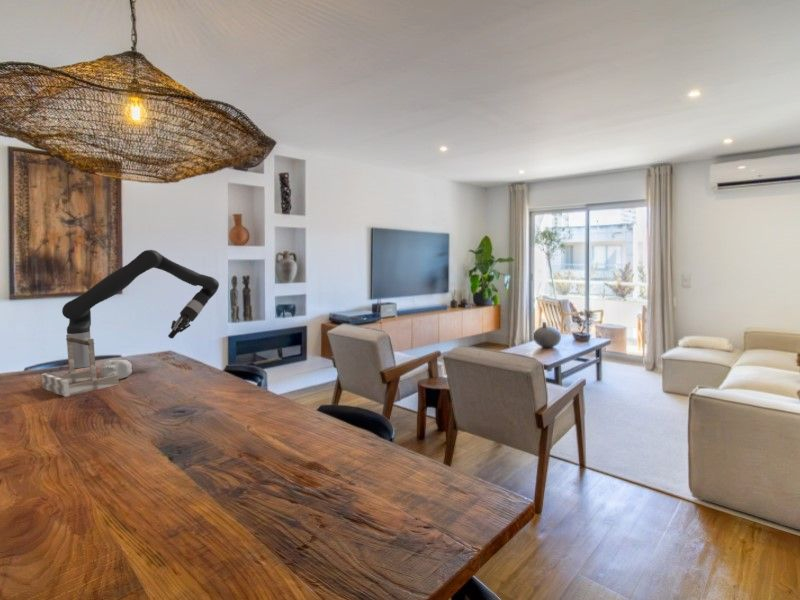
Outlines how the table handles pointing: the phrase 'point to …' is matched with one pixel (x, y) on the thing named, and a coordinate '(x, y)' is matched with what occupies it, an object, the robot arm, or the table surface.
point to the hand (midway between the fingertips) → (170, 337)
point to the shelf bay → (78, 374)
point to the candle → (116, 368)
